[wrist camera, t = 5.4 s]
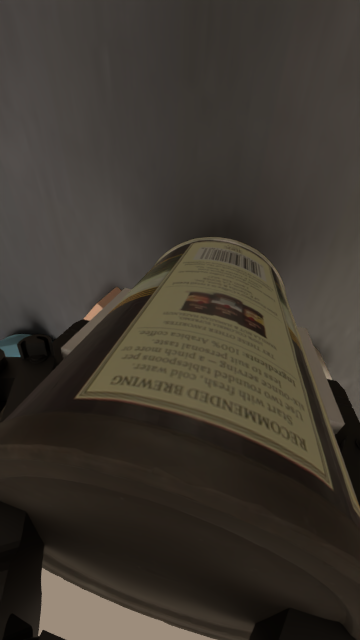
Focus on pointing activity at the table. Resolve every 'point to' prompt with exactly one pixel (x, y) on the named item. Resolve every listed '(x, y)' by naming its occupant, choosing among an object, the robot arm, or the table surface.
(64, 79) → the table surface
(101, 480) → the coffee can
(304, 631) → the robot arm
